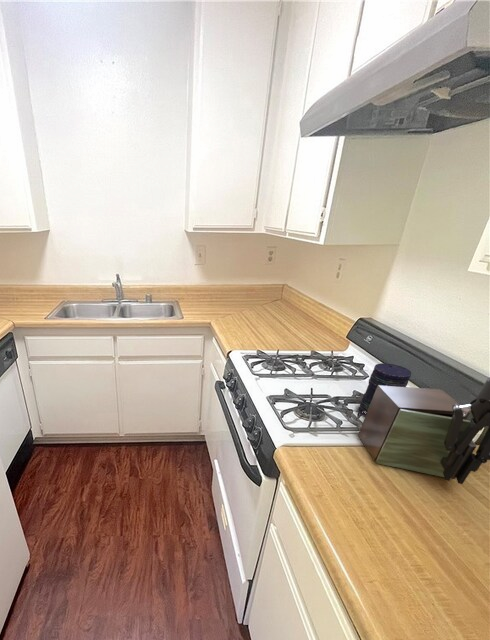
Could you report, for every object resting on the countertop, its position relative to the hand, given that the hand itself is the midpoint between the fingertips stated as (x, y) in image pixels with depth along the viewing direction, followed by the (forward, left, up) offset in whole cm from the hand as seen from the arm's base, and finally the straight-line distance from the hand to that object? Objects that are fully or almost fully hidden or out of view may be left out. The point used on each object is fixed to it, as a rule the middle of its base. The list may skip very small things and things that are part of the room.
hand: (452, 478), depth 77 cm
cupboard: (+17, -3, -4) cm, 17 cm away
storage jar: (+35, -12, -5) cm, 37 cm away
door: (+6, +2, -4) cm, 8 cm away
